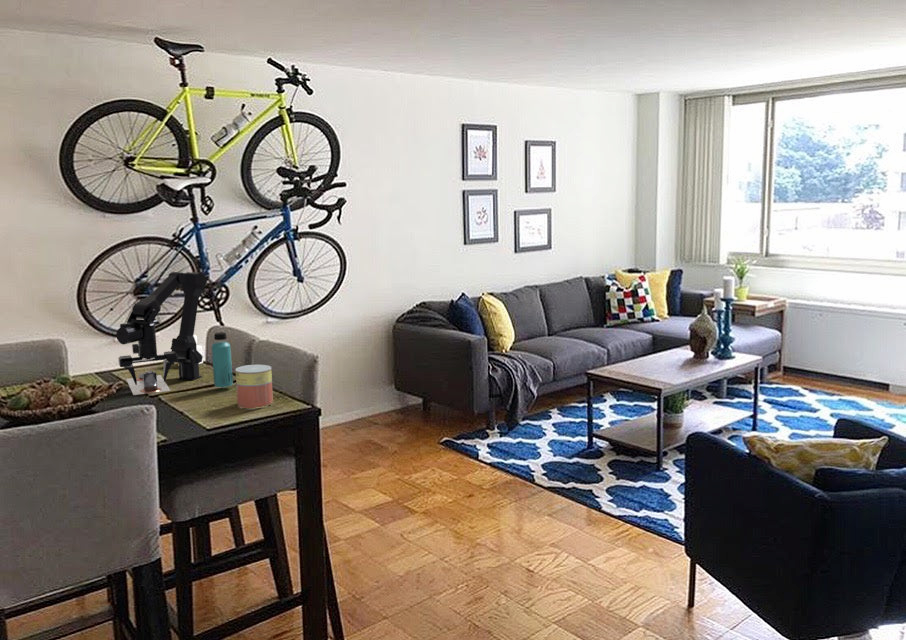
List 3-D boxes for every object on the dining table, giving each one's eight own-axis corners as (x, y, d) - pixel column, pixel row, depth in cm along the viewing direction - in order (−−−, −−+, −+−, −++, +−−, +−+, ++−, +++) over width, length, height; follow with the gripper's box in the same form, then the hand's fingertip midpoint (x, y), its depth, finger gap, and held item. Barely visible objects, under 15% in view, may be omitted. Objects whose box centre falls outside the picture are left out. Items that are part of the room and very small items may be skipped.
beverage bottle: (230, 391, 264) (227, 334, 260) (211, 391, 263) (207, 334, 260) (235, 386, 270) (232, 331, 267) (217, 386, 270) (213, 331, 267)
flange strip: (125, 378, 282) (125, 374, 282) (160, 374, 288) (159, 370, 288) (133, 395, 259) (133, 390, 259) (170, 390, 265) (170, 385, 265)
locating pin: (160, 388, 267) (158, 370, 266) (151, 391, 263) (150, 373, 262) (149, 387, 268) (148, 369, 267) (141, 391, 264) (139, 372, 263)
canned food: (244, 399, 253) (242, 364, 251) (277, 399, 253) (275, 364, 251) (232, 409, 242) (230, 372, 240) (267, 409, 242) (265, 372, 240)
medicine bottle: (177, 366, 303) (175, 336, 300) (187, 362, 309) (185, 333, 307) (193, 366, 301) (191, 337, 299) (203, 362, 308) (201, 333, 306)
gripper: (172, 332, 274) (175, 375, 277) (115, 337, 265) (119, 381, 268) (176, 337, 264) (179, 381, 267) (118, 343, 256) (122, 388, 258)
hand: (150, 383), depth 265 cm, fingers open, 9 cm apart
